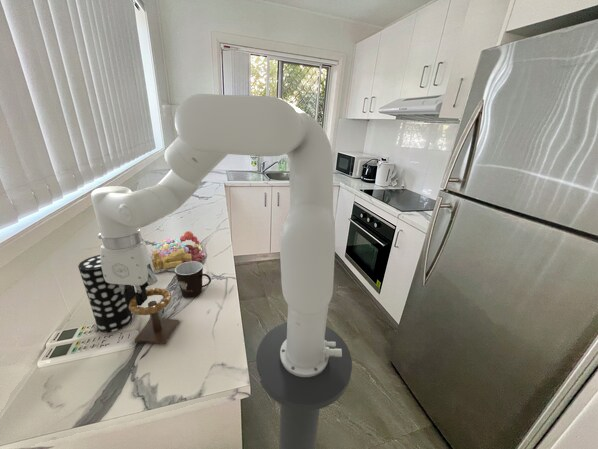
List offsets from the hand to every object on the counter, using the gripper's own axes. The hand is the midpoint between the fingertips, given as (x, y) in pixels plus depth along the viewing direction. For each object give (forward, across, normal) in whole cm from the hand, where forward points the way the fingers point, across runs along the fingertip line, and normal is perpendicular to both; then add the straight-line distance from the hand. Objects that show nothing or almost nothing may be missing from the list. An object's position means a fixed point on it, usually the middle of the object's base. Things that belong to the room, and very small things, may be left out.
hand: (137, 301), depth 64 cm
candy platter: (+10, -11, +40) cm, 43 cm away
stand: (+10, +4, 0) cm, 11 cm away
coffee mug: (+10, +7, +17) cm, 21 cm away
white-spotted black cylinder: (+10, -10, +3) cm, 15 cm away
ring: (-1, +4, 0) cm, 4 cm away
